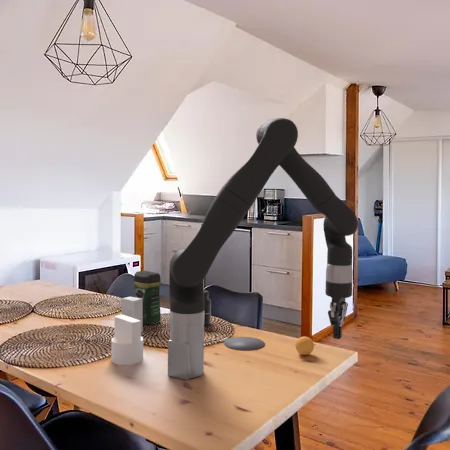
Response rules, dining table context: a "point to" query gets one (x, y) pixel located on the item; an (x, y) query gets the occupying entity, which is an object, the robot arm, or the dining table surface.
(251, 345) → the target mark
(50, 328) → the dining table surface
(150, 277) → the coffee jar
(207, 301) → the supplement bottle
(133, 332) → the cylinder with rectangular tab
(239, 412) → the dining table surface
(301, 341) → the ball
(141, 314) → the skincare box
